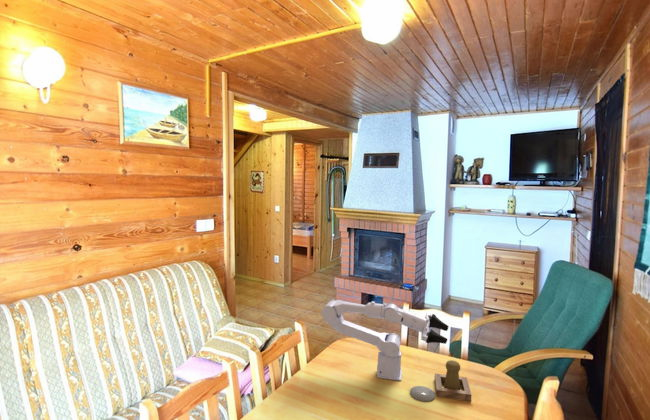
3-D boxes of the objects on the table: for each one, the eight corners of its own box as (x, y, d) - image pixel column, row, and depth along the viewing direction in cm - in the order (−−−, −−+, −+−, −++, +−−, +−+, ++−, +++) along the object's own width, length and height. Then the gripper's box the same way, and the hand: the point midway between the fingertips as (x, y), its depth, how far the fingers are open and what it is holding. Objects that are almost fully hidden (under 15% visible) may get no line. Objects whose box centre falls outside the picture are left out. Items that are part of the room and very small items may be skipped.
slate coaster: (410, 399, 131) (410, 397, 131) (410, 386, 140) (410, 384, 140) (435, 403, 129) (435, 401, 129) (434, 389, 138) (434, 387, 138)
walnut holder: (436, 396, 133) (436, 389, 133) (434, 379, 145) (434, 373, 145) (471, 401, 131) (471, 394, 130) (466, 383, 142) (466, 377, 142)
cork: (461, 395, 134) (462, 366, 133) (444, 393, 135) (445, 365, 135) (458, 386, 140) (460, 359, 139) (442, 384, 141) (443, 357, 141)
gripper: (413, 325, 136) (449, 339, 133) (418, 303, 149) (451, 315, 145) (408, 338, 139) (443, 353, 136) (413, 315, 152) (445, 328, 148)
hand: (447, 334), depth 141 cm, fingers open, 7 cm apart
